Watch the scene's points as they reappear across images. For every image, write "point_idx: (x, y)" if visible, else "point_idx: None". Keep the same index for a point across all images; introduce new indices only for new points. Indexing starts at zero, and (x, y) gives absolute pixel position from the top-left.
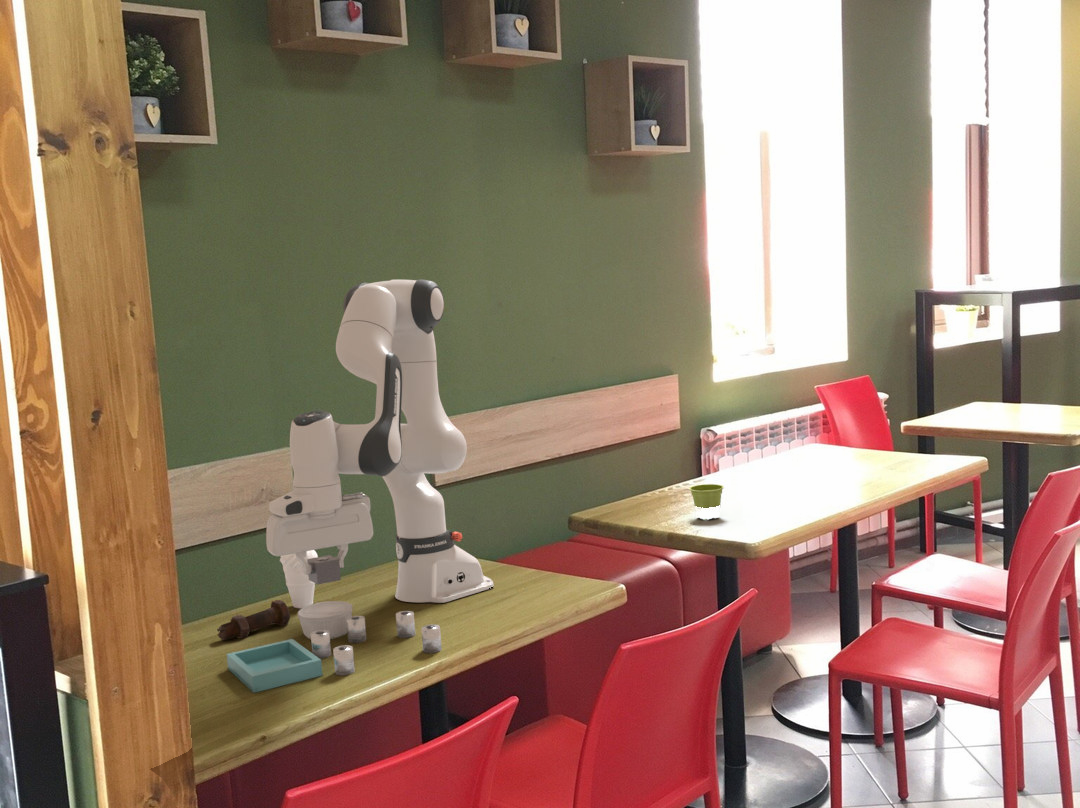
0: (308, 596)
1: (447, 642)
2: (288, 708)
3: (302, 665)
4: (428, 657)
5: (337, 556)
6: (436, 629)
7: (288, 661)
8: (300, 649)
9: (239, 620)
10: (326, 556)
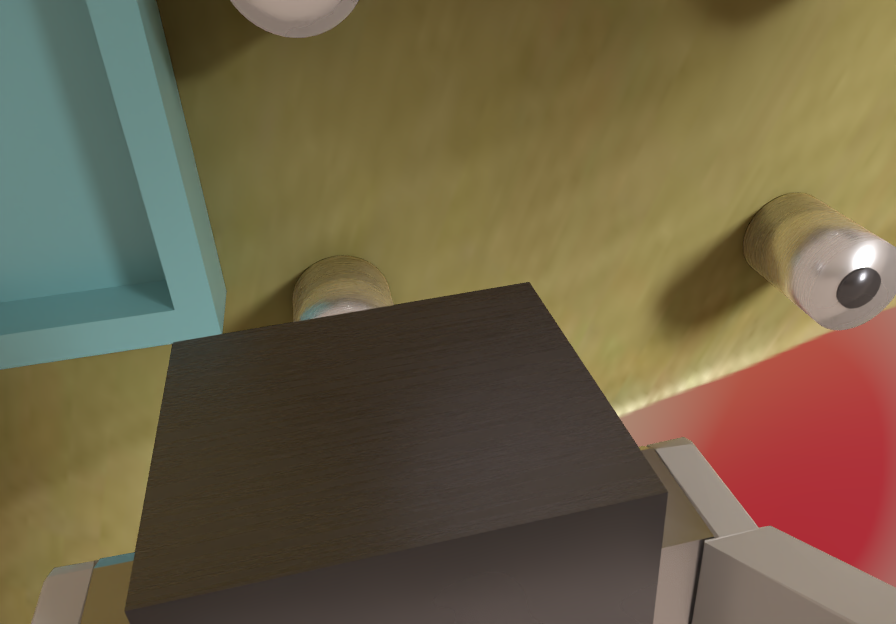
0: None
1: (891, 171)
2: (28, 565)
3: (106, 350)
4: (716, 312)
5: (728, 569)
6: (854, 325)
7: (34, 12)
8: (115, 71)
9: None
10: (560, 570)
